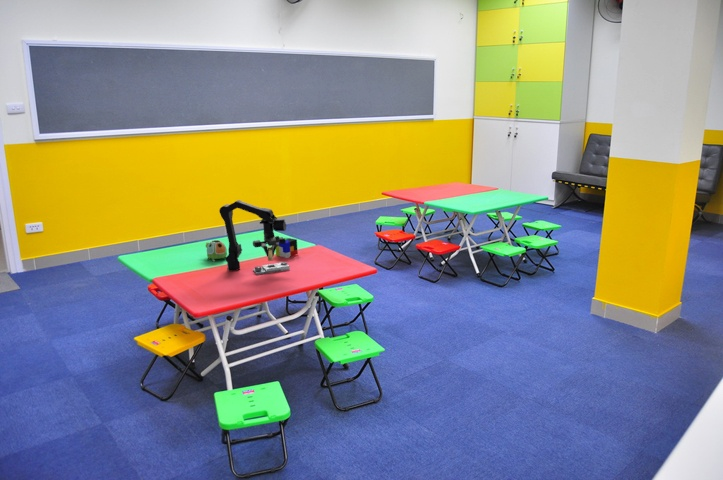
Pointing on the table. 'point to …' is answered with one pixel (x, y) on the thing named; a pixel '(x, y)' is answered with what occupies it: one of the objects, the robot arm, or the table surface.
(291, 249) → the puzzle toy
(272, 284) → the table surface
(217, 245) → the turtle holder
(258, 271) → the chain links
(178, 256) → the table surface
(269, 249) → the brass pin
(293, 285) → the table surface
